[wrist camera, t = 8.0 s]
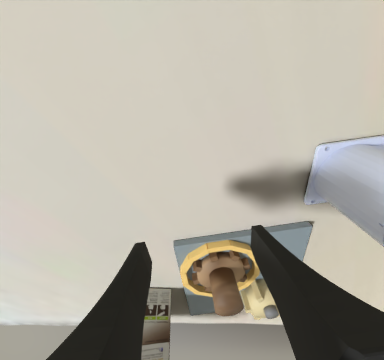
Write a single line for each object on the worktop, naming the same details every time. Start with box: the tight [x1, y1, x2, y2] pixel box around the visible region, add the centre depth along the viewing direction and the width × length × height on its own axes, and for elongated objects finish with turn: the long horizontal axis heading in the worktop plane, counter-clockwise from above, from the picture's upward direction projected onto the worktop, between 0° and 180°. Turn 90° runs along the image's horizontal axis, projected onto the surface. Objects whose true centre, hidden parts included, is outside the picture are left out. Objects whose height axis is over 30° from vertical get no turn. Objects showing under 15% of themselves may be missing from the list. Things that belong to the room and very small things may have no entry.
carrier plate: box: [174, 221, 312, 320], centre depth 28 cm, size 19×19×5 cm
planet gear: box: [192, 250, 251, 316], centre depth 25 cm, size 9×9×6 cm
